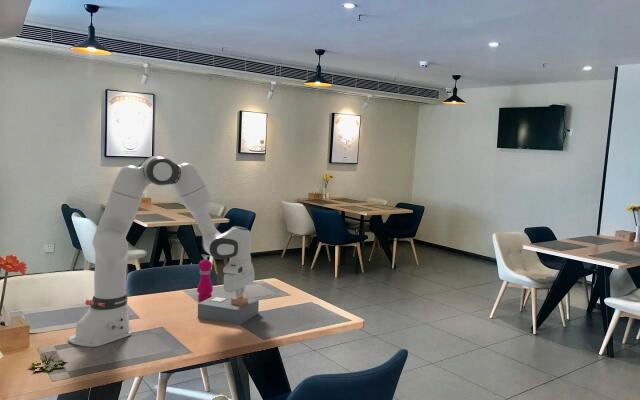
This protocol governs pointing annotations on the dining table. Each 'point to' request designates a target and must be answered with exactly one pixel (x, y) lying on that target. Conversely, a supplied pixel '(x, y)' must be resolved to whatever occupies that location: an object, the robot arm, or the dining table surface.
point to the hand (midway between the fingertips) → (239, 297)
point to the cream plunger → (218, 299)
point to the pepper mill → (205, 280)
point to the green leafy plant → (47, 362)
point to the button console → (227, 310)
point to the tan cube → (239, 301)
